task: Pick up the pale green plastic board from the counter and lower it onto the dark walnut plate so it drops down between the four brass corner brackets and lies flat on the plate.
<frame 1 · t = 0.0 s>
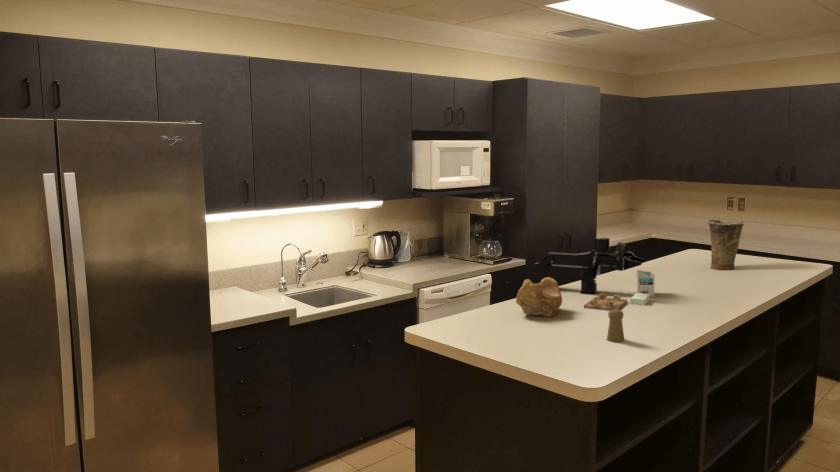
hand: (643, 262, 286), 17 cm above the worktop, tool horizontal, fingers open, 9 cm apart
rough brown rock: (543, 314, 264), on the worktop
walnut plate: (605, 305, 276), on the worktop
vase: (724, 268, 351), on the worktop
pale green board: (640, 302, 280), on the worktop
light bulb box: (645, 295, 293), on the worktop
olive tapered pillar: (615, 340, 225), on the worktop
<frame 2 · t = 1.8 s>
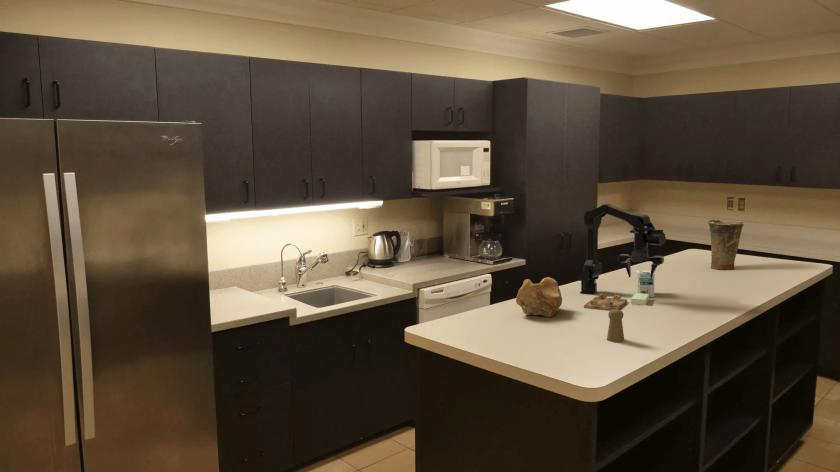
hand: (640, 278, 279), 11 cm above the worktop, tool pointing down, fingers open, 9 cm apart
nothing on the worktop moved.
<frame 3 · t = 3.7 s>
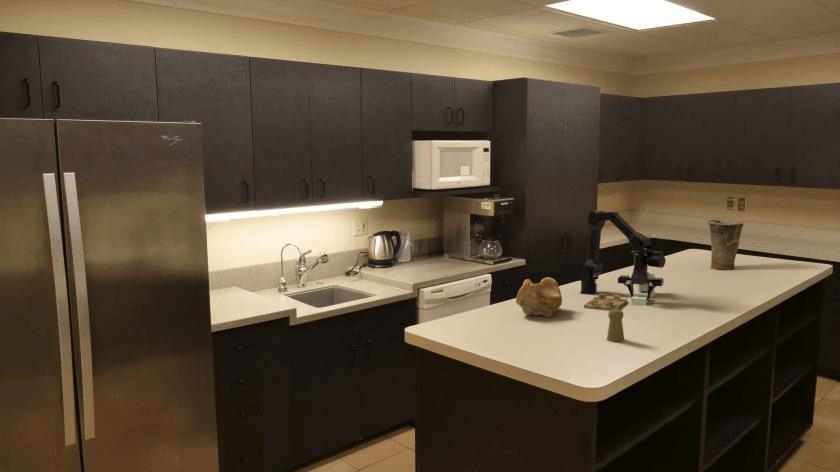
hand: (640, 299, 280), 1 cm above the worktop, tool pointing down, fingers closed on pale green board, 6 cm apart
pale green board: (640, 302, 280), on the worktop, touching gripper
everything else where it was.
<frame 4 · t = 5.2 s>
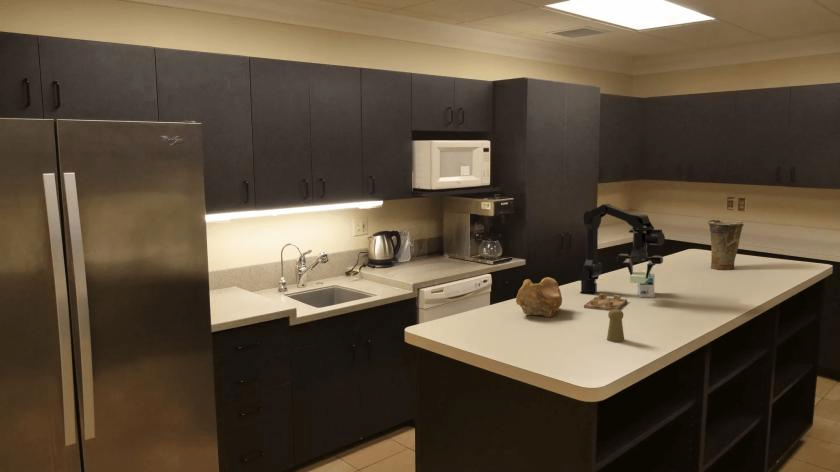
hand: (639, 277, 279), 11 cm above the worktop, tool pointing down, fingers closed on pale green board, 6 cm apart
pale green board: (639, 280, 279), point 10 cm above the worktop, touching gripper
everything else where it was.
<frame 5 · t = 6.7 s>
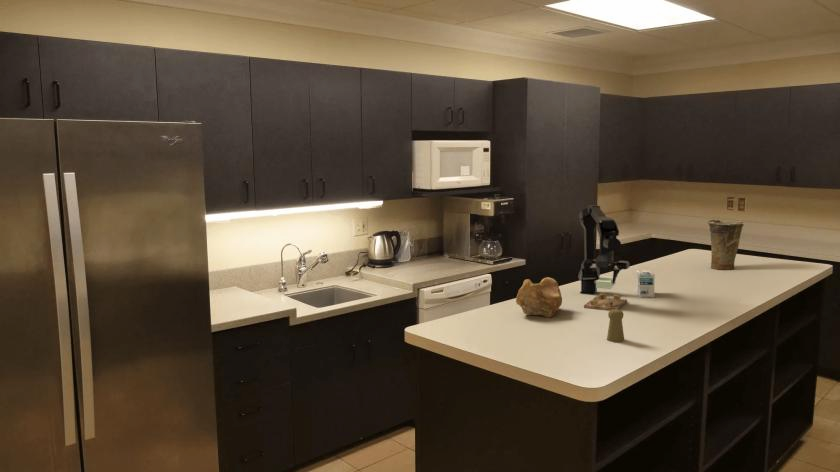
hand: (606, 283, 275), 10 cm above the worktop, tool pointing down, fingers closed on pale green board, 6 cm apart
pale green board: (605, 285, 275), point 9 cm above the worktop, touching gripper
everything else where it was.
when the fingers open (3 cm above the worktop, at t = 8.9 s): pale green board stays where it is, resting on walnut plate.
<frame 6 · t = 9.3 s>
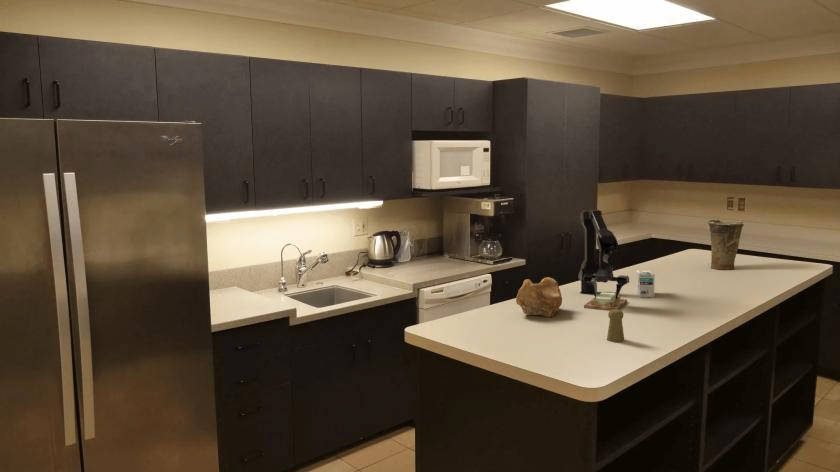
hand: (605, 297, 276), 3 cm above the worktop, tool pointing down, fingers open, 9 cm apart
pale green board: (605, 302, 276), point 1 cm above the worktop, touching walnut plate
everything else where it was.
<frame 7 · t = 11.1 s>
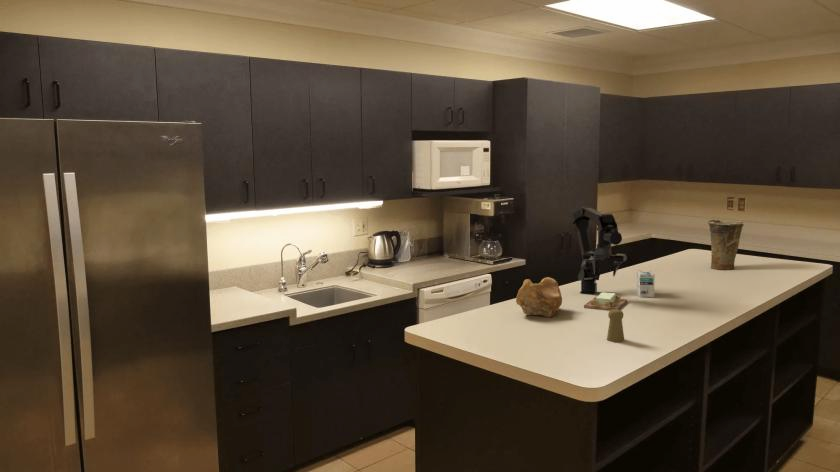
hand: (603, 275, 285), 11 cm above the worktop, tool pointing down, fingers open, 9 cm apart
nothing on the worktop moved.
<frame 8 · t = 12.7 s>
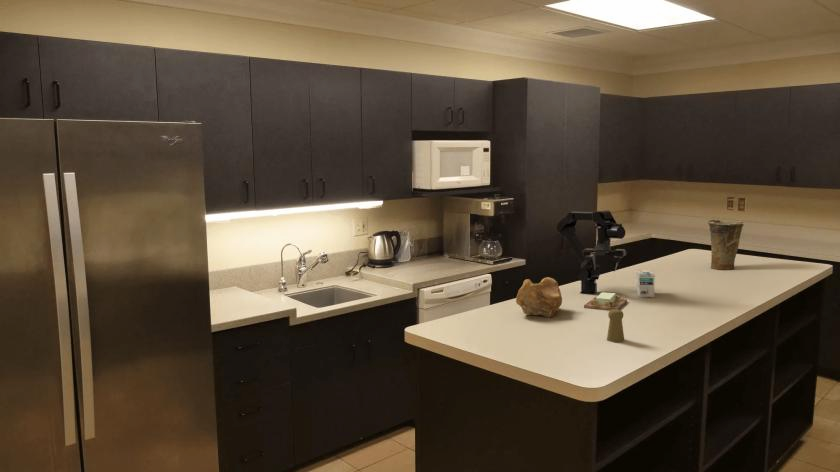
hand: (604, 270, 291), 12 cm above the worktop, tool pointing down, fingers open, 9 cm apart
nothing on the worktop moved.
at the end: pale green board 0.0 cm off-centre on the walnut plate, point 1.2 cm above the walnut plate's base; pale green board tilted 0°; the gripper is holding nothing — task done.
